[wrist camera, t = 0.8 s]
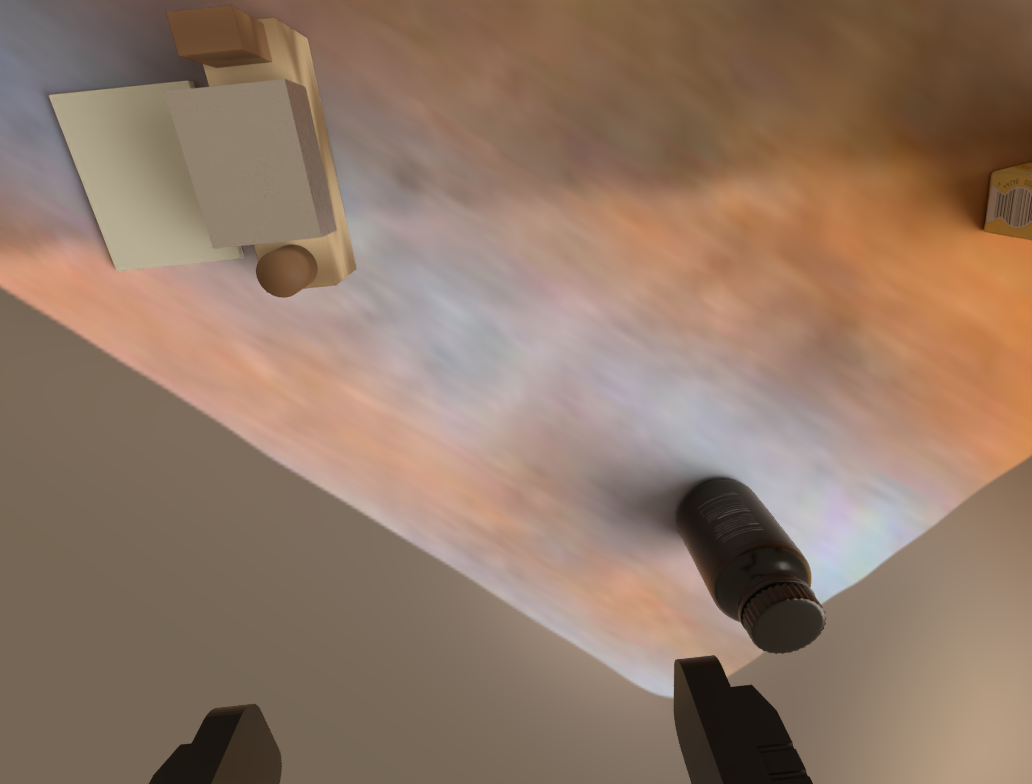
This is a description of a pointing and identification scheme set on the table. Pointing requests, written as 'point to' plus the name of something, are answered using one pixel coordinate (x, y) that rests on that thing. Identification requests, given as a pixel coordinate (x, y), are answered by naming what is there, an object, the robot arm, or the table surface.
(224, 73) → the body
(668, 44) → the table surface
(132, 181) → the mat
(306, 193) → the lever cap
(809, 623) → the supplement bottle
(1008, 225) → the candy box
